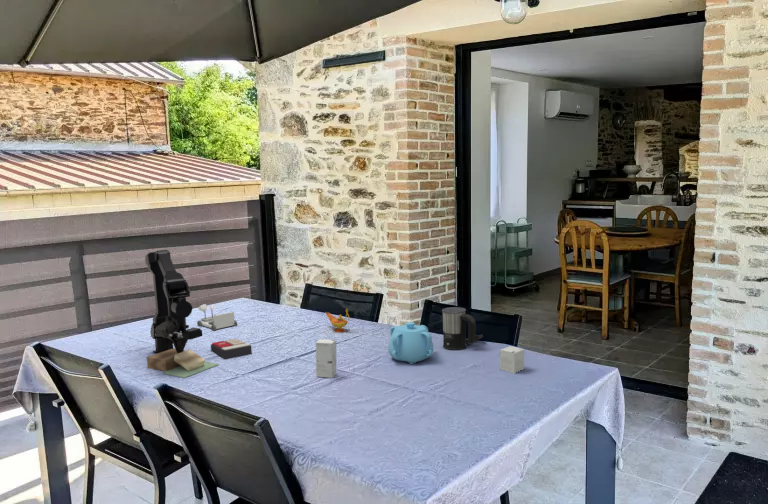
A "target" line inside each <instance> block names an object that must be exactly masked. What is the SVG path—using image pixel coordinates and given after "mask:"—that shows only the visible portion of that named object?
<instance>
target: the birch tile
mask: <svg viewBox="0 0 768 504" xmlns="http://www.w3.org/2000/svg"><path fill="white" fill-rule="evenodd" d="M174 361H175V362H177V363H178V364H180V365H181V366H182V367H184V368H185V369H187V370H188V371H191V370H194V369H196V368H199V367H201V366H204V363H205V361H206V359H205V358H203V357H201V356H200V355H199V354H198V353H196V352H195V351H193V350H192V349H188V350H184V352H181V353H178V354H175V357H174Z"/></svg>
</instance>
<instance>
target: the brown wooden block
mask: <svg viewBox="0 0 768 504" xmlns="http://www.w3.org/2000/svg"><path fill="white" fill-rule="evenodd" d="M184 351H185V349H184V350H183V352H184ZM175 354H178V353H177V351H176V349H175V348H174V349H170V350H167V351H164V352H161V353H155V354H152V355H149V356H146V364H147V368H148V369H152V370H156V371H160V372H161V371H162V372H165V371H168V370H171V369H174V368H176V367H179V366H181V365H180V364H178V363H177V362H175V361H174V357H175Z"/></svg>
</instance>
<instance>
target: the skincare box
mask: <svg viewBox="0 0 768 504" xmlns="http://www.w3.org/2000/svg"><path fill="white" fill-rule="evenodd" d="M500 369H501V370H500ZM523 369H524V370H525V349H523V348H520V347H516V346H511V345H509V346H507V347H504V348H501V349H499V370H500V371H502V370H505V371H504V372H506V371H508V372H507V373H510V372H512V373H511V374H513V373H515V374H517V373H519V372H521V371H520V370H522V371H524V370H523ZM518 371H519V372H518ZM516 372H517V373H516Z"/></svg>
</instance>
